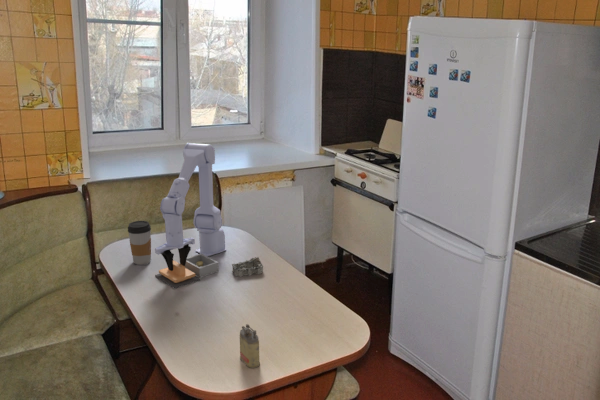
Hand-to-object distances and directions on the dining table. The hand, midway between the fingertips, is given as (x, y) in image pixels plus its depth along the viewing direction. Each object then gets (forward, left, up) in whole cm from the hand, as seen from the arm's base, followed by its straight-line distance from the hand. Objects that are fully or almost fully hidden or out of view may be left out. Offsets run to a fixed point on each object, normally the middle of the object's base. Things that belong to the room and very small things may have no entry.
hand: (176, 267), depth 199 cm
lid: (0, 0, -3) cm, 3 cm away
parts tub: (-10, 0, -4) cm, 11 cm away
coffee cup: (+2, -22, -4) cm, 22 cm away
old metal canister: (+13, +58, -4) cm, 59 cm away
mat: (0, 0, -4) cm, 4 cm away
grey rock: (-21, +12, -4) cm, 25 cm away
